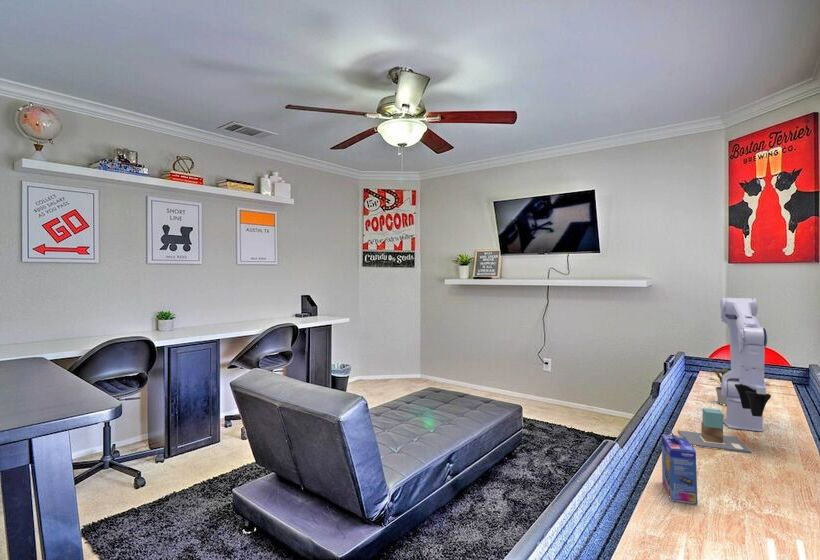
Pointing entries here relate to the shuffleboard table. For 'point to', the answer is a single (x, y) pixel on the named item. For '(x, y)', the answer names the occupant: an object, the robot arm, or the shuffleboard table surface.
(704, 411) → the teal block
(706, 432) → the walnut block
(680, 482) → the ink cartridge box
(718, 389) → the house plant
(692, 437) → the board
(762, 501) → the shuffleboard table surface
